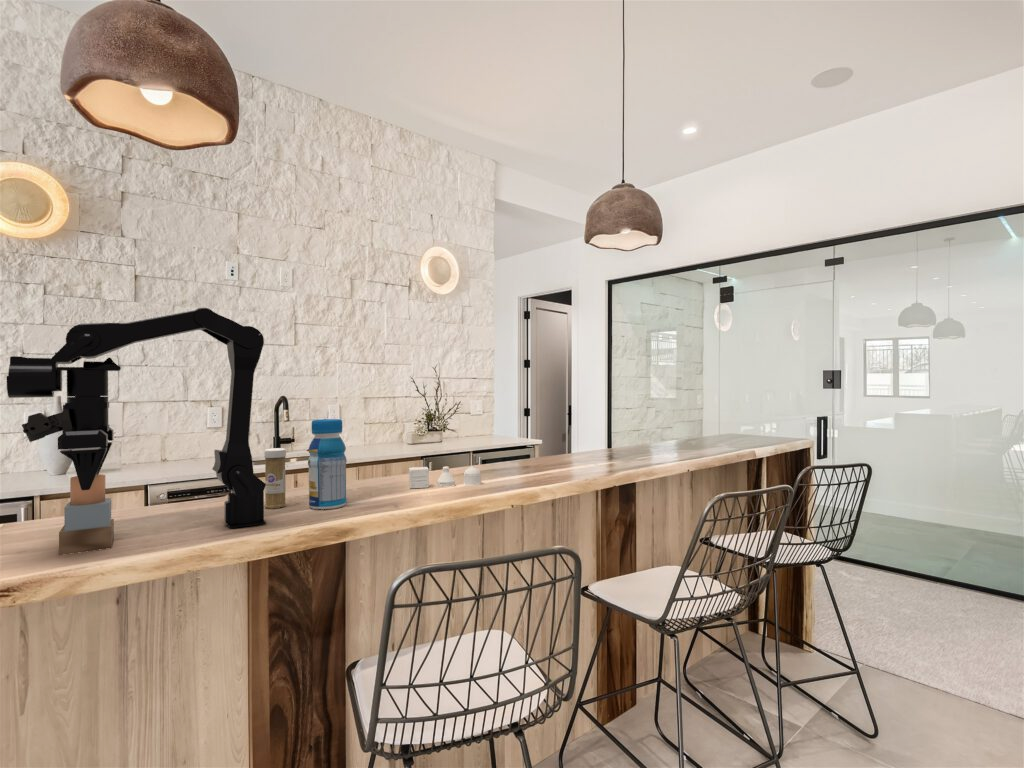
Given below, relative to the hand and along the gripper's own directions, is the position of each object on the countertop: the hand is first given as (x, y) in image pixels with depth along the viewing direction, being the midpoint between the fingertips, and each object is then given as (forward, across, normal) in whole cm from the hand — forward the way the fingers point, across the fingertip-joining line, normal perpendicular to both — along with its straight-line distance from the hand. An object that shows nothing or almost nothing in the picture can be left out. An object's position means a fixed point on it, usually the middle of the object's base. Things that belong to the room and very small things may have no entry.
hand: (88, 486), depth 95 cm
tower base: (+11, 0, 0) cm, 11 cm away
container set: (+11, -17, +77) cm, 80 cm away
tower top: (+7, 0, 0) cm, 7 cm away
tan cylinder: (+3, 0, 0) cm, 3 cm away
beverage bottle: (+11, -8, +43) cm, 45 cm away
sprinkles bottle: (+11, -16, +33) cm, 38 cm away
